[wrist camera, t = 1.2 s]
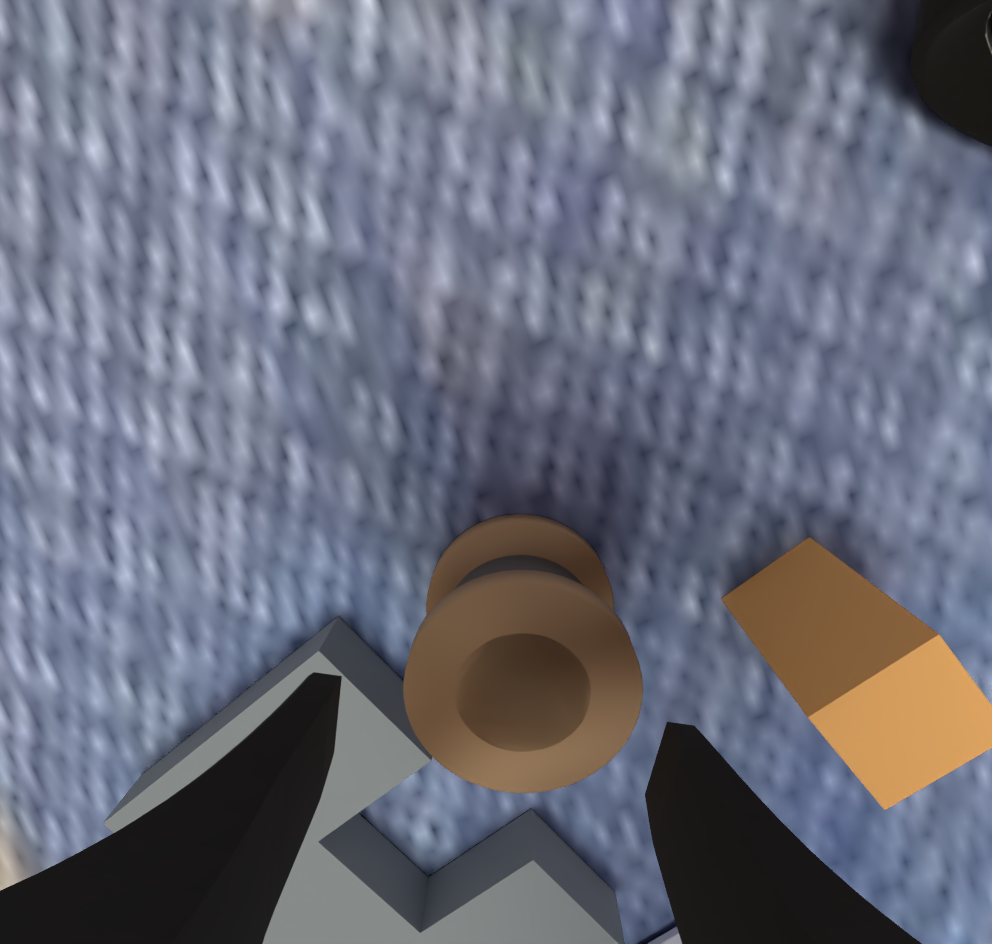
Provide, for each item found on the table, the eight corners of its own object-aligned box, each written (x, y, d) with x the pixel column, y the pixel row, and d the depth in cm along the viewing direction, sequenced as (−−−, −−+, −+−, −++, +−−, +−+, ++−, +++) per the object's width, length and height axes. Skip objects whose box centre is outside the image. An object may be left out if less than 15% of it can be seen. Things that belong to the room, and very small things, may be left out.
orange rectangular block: (866, 611, 23) (1013, 734, 16) (778, 668, 24) (885, 810, 17) (809, 536, 22) (938, 634, 16) (720, 598, 23) (807, 717, 16)
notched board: (615, 893, 27) (625, 950, 24) (419, 1013, 29) (411, 1077, 27) (338, 616, 24) (318, 651, 21) (140, 775, 26) (103, 823, 23)
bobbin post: (645, 609, 23) (690, 708, 17) (508, 708, 25) (507, 830, 19) (531, 477, 22) (539, 536, 16) (392, 588, 23) (353, 679, 17)
